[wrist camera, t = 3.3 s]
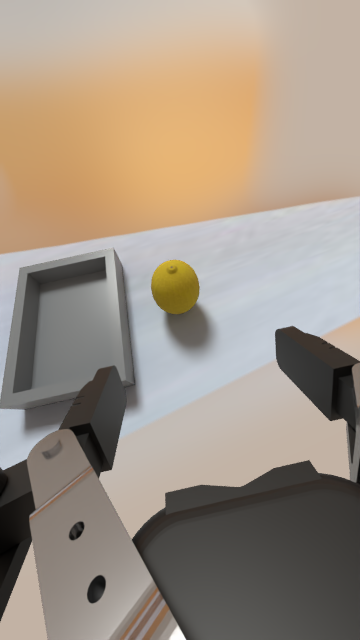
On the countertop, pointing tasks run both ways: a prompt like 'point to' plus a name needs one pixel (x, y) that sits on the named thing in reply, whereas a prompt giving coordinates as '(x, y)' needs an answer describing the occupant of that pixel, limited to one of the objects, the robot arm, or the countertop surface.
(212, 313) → the countertop surface
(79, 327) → the tray
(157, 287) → the lemon
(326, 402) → the robot arm
